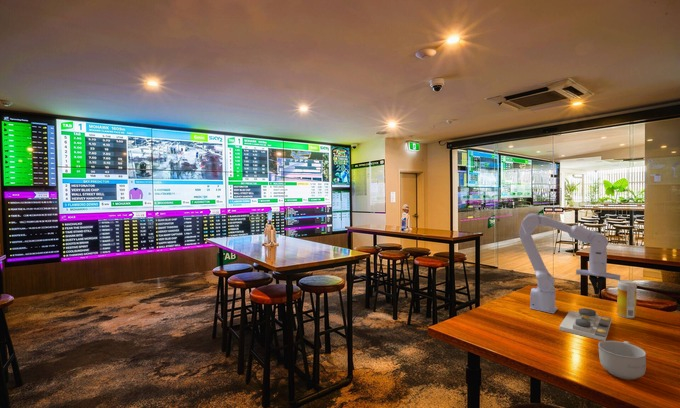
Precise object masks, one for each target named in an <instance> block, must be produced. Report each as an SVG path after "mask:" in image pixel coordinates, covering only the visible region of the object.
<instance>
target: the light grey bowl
mask: <svg viewBox="0 0 680 408" xmlns="http://www.w3.org/2000/svg"><path fill="white" fill-rule="evenodd" d="M597 346H598V347H597V348H598V355H599V362H600V363H599V364H600V365H601V366H602V367H603V369H604V370H606V371H607V372H608V373H609V374H611V375H613V376H614V377H617V378H620V379H623V380H629V381H630V380H631V381H632V380H636V379H639V378H642V377H643V376H644V375H645V373H646V369H647V360H646V358H647V357H646V356H647V353H646V351H645V350H644V349H643V348H641V347H639V346H638V345H635V344H632V343H631V342H630V341H626V340H624V341H617V340H606V341H599V342H598V344H597Z"/></svg>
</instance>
